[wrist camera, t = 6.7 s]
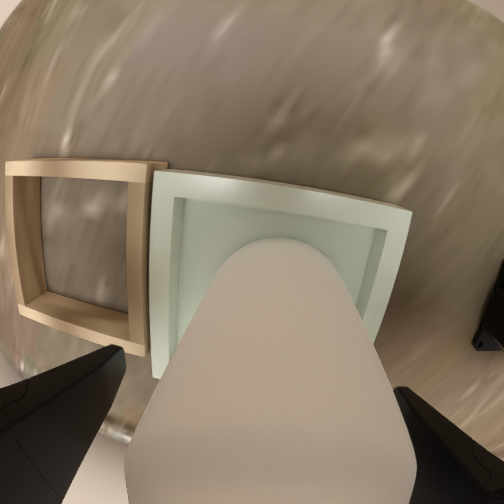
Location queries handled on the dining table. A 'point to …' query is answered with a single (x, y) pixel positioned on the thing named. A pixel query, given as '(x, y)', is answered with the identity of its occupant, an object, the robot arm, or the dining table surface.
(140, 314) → the collar
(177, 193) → the tray
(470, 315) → the dining table surface
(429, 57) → the dining table surface
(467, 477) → the robot arm
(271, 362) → the can
